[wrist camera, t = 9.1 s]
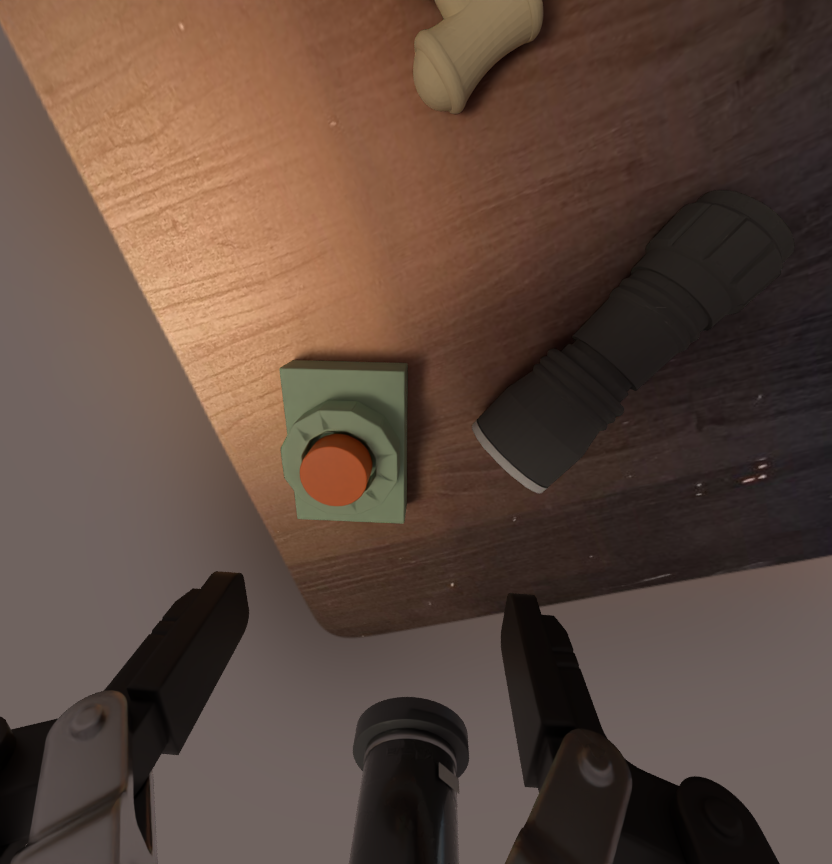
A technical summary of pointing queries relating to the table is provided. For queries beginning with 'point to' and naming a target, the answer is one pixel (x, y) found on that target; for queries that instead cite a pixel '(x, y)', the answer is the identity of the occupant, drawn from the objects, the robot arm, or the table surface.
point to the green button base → (349, 431)
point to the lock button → (336, 470)
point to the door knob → (469, 46)
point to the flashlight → (636, 333)
